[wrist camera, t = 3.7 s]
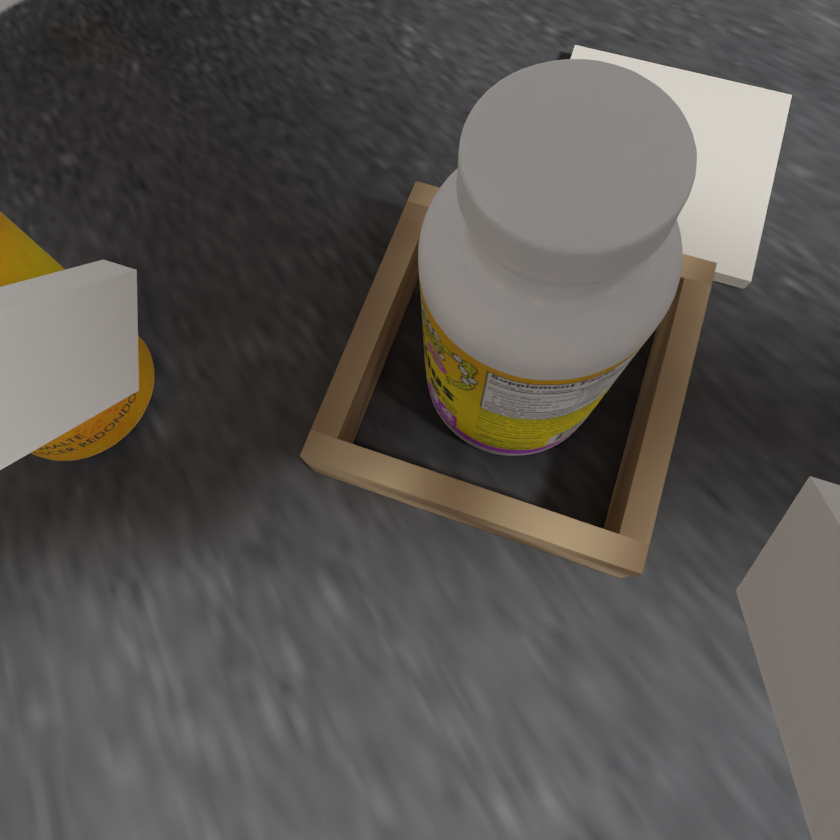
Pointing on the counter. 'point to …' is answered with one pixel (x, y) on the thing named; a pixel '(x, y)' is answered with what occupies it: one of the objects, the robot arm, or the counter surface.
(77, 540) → the counter surface
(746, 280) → the plate
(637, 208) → the supplement bottle
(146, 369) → the beer can
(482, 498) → the oak holder
